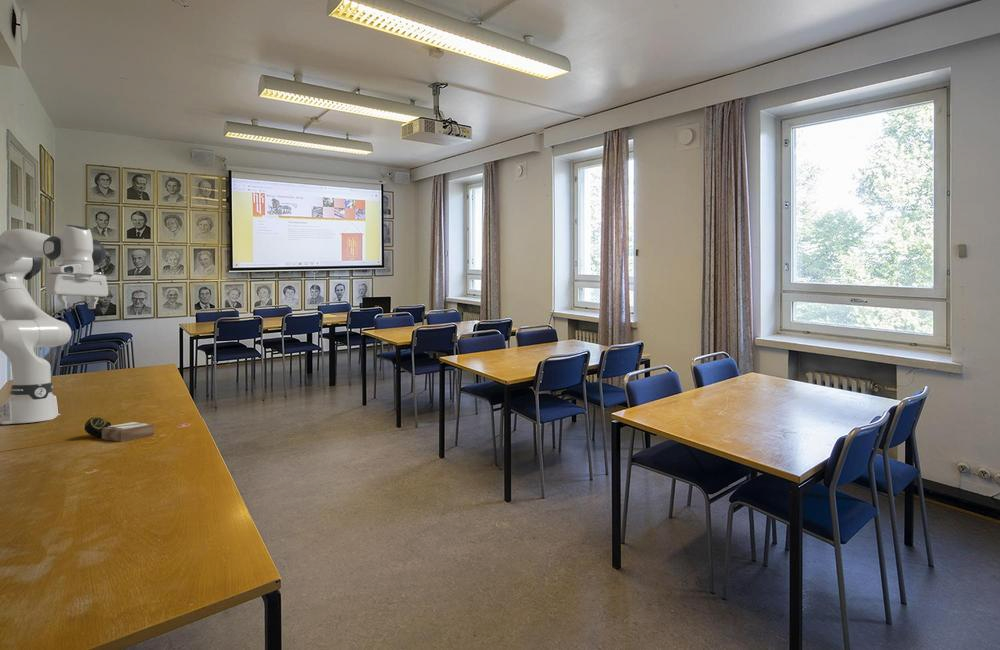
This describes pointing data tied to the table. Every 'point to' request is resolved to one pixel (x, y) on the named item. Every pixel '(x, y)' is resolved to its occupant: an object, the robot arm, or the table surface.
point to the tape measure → (96, 426)
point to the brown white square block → (127, 431)
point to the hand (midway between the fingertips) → (78, 308)
